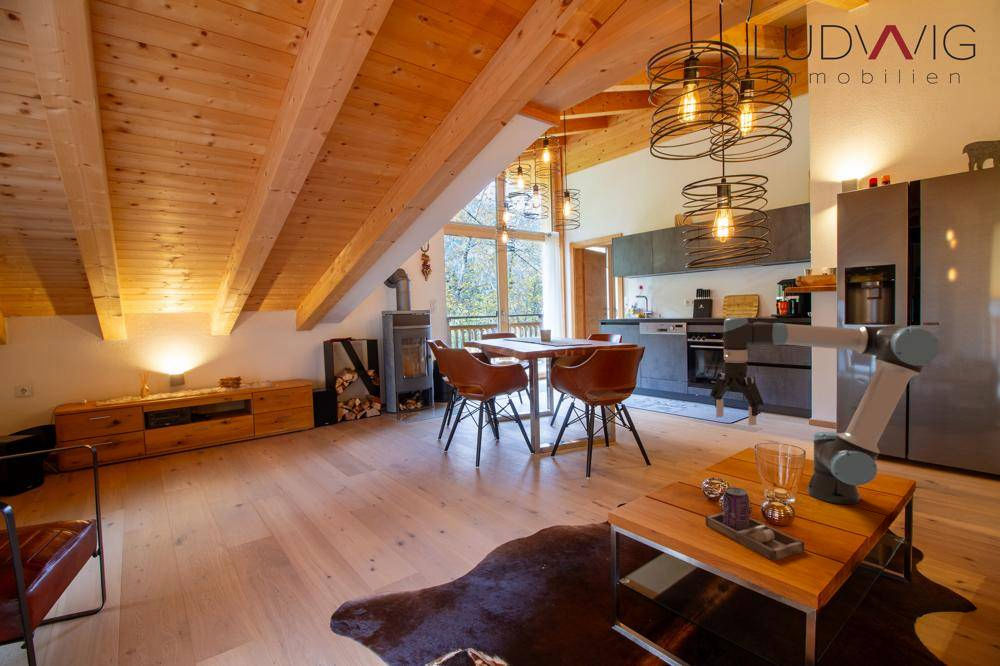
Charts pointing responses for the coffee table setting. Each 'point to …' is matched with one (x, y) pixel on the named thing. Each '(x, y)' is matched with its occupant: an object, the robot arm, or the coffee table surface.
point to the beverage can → (736, 508)
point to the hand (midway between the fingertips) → (735, 420)
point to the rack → (771, 549)
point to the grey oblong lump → (763, 536)
